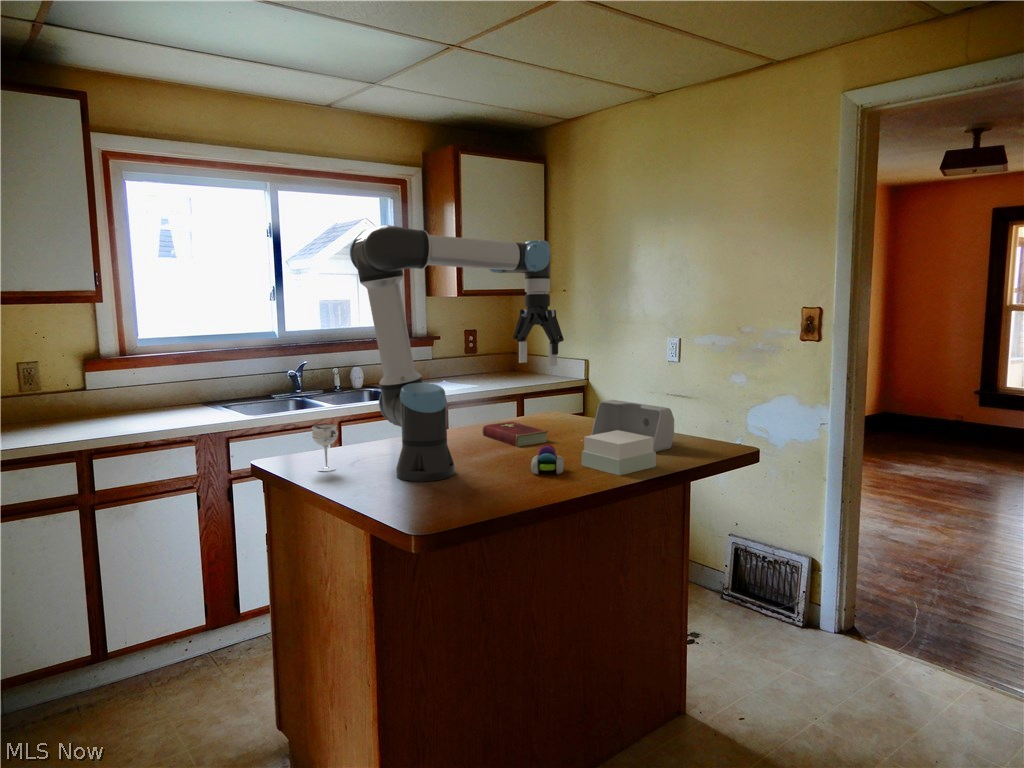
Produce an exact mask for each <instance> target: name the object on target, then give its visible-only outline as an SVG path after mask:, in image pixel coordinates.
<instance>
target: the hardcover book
mask: <svg viewBox="0 0 1024 768" xmlns="http://www.w3.org/2000/svg"><path fill="white" fill-rule="evenodd" d="M548 433H549V430H546V429H542V428H539V427H535V426H531V425H528V424H524V423H520V422H516V421H512V420H511V421H505V422H497V423H490V424H484V425H483V426H482V436H484V437H487V438H489V439H492V440H495V441H498V442H501V443H505V444H508V445H511V446H514V447H516V448H518V447H523V446H529V445H536V444H542V443H547V442H548V435H547V434H548Z"/></svg>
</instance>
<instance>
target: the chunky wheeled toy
mask: <svg viewBox="0 0 1024 768" xmlns="http://www.w3.org/2000/svg"><path fill="white" fill-rule="evenodd" d="M564 468H565V459H564V457H563V456H561V455H559V454H558V455H557V451H556V448H555V447H554V446H553V445H552V444H548V443H547V444H544V445H541V447H540V448H539V449H538V454H537V455H535V456H533V457H532V459H531V463H530V470H531V472H532V473H533V474H534V475H539V471H554V470H555V471H556V475H560V474H562V473H563V472H564Z"/></svg>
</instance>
